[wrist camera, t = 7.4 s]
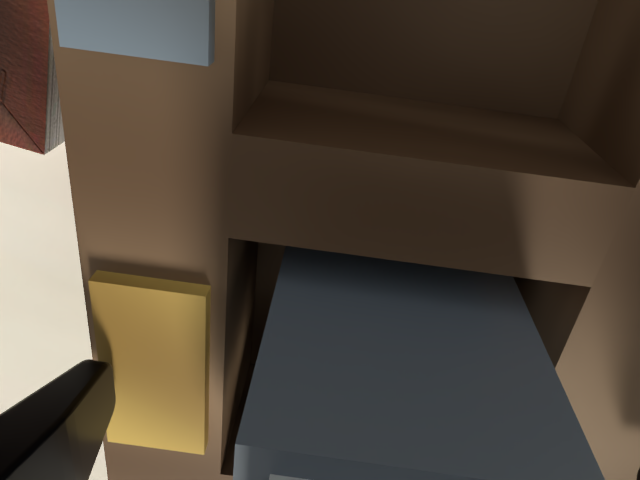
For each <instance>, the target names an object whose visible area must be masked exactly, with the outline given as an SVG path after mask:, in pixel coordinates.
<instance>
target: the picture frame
mask: <svg viewBox="0 0 640 480" xmlns="http://www.w3.org/2000/svg"><path fill="white" fill-rule="evenodd" d="M64 141H65V138H64V130H63V122H62V114H61V106H60V99H59V91H58V83H57V75H56V67H55V59H54V52H53V44H52V36H51V28H50V20H49V12H48V5H47V0H0V142H3V143H6V144H9V145H13V146H16V147H20V148H23V149H26V150H30V151H33V152H36V153H40V154H43V155H45V154H46V153H48V152H49V151H51V150H52V149H54V148H55V147H57V146H58V145H60V144H61V143H63V142H64Z"/></svg>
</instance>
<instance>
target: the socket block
mask: <svg viewBox="0 0 640 480" xmlns="http://www.w3.org/2000/svg"><path fill="white" fill-rule="evenodd" d="M47 5H48V12H49V20H50V28H51V36H52V44H53V52H54V59H55V67H56V75H57V83H58V91H59V99H60V106H61V114H62V122H63V130H64V138H65V146H66V153H67V161H68V169H69V177H70V185H71V193H72V200H73V208H74V216H75V224H76V232H77V240H78V247H79V255H80V263H81V271H82V279H83V287H84V295H85V302H86V310H87V318H88V326H89V334H90V341H91V349H92V357H93V360H97V361H104V362H108V363H110V364H111V365H112V368H113V375H114V385H115V395H116V403H115V408H114V412H113V415H112V417H111V420H110V423H109V425H108V428H107V431H106V433H105V436H104V439H103V443H104V451H105V459H106V467H107V475H108V480H233V470H234V453H235V442H236V438H237V434H238V431H239V427H240V423H241V419H242V415H243V411H244V407H245V403H246V399H247V395H248V392H249V388H250V384H251V380H252V376H253V372H254V368H255V364H256V360H257V357H258V353H259V349H260V345H261V341H262V337H263V333H264V329H265V325H266V321H267V318H268V314H269V310H270V306H271V302H272V298H273V294H274V290H275V286H276V282H277V279H278V275H279V271H280V267H281V263H282V259H283V255H284V251H285V247H286V246H292V247H299V248H306V249H314V250H321V251H329V252H336V253H343V254H351V255H358V256H365V257H373V258H380V259H387V260H395V261H402V262H410V263H417V264H424V265H432V266H439V267H446V268H454V269H461V270H469V271H476V272H483V273H491V274H498V275H505V276H513V278H514V280H515V282H516V284H517V286H518V289H519V291H520V293H521V295H522V297H523V300H524V302H525V304H526V306H527V308H528V311H529V313H530V315H531V317H532V320H533V322H534V324H535V326H536V328H537V331H538V333H539V335H540V337H541V339H542V342H543V344H544V346H545V348H546V350H547V353H548V355H549V357H550V359H551V361H552V364H553V366H554V368H555V370H556V373H557V375H558V377H559V379H560V381H561V384H562V386H563V388H564V390H565V392H566V395H567V397H568V399H569V401H570V403H571V406H572V408H573V410H574V412H575V414H576V417H577V419H578V421H579V423H580V425H581V428H582V430H583V432H584V434H585V437H586V439H587V441H588V443H589V445H590V448H591V450H592V452H593V454H594V456H595V459H596V461H597V463H598V465H599V467H600V470H601V472H602V474H603V476H604V478H605V480H637V472H638V470H639V468H640V0H47Z"/></svg>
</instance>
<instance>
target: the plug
mask: <svg viewBox="0 0 640 480" xmlns="http://www.w3.org/2000/svg"><path fill="white" fill-rule="evenodd" d="M233 480H605V478H604V476H603V474H602V472H601V470H600V467H599V465H598V463H597V461H596V459H595V456H594V454H593V452H592V450H591V448H590V445H589V443H588V441H587V439H586V437H585V434H584V432H583V430H582V428H581V425H580V423H579V421H578V419H577V417H576V414H575V412H574V410H573V408H572V406H571V403H570V401H569V399H568V397H567V395H566V392H565V390H564V388H563V386H562V384H561V381H560V379H559V377H558V375H557V373H556V370H555V368H554V366H553V364H552V361H551V359H550V357H549V355H548V353H547V350H546V348H545V346H544V344H543V342H542V339H541V337H540V335H539V333H538V331H537V328H536V326H535V324H534V322H533V320H532V317H531V315H530V313H529V311H528V308H527V306H526V304H525V302H524V300H523V297H522V295H521V293H520V291H519V289H518V286H517V284H516V282H515V280H514V278H513V276H505V275H498V274H491V273H483V272H476V271H469V270H461V269H454V268H446V267H439V266H432V265H424V264H417V263H410V262H402V261H395V260H387V259H380V258H373V257H365V256H358V255H351V254H343V253H336V252H329V251H321V250H314V249H306V248H299V247H292V246H286V247H285V251H284V255H283V259H282V263H281V267H280V271H279V275H278V279H277V282H276V286H275V290H274V294H273V298H272V302H271V306H270V310H269V314H268V318H267V321H266V325H265V329H264V333H263V337H262V341H261V345H260V349H259V353H258V357H257V360H256V364H255V368H254V372H253V376H252V380H251V384H250V388H249V392H248V395H247V399H246V403H245V407H244V411H243V415H242V419H241V423H240V427H239V431H238V434H237V438H236V442H235V453H234V470H233Z"/></svg>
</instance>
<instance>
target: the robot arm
mask: <svg viewBox="0 0 640 480" xmlns="http://www.w3.org/2000/svg"><path fill="white" fill-rule="evenodd" d="M115 403H116V395H115V385H114V375H113V368H112V365H111V364H110V363H108V362H104V361H97V360H84V361H82V362H80V363H79V364H77V365H75V366H74V367H72V368H71V369H69V370H68V371H66V372H65V373H63V374H62V375H60V376H59V377H57V378H55V379H54V380H52V381H51V382H49V383H48V384H46V385H45V386H43V387H42V388H40V389H39V390H37V391H35V392H34V393H32V394H31V395H29V396H28V397H26V398H25V399H23V400H22V401H20V402H18V403H17V404H15V405H14V406H12V407H11V408H9V409H8V410H6V411H5V412H3V413H2V414H0V480H88V479H89V476H90V473H91V471H92V468H93V465H94V463H95V460H96V457H97V455H98V452H99V449H100V447H101V444H102V441H103V439H104V436H105V433H106V431H107V428H108V425H109V423H110V420H111V417H112V415H113V412H114V408H115ZM637 480H640V468H639V470H638V472H637Z"/></svg>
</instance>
